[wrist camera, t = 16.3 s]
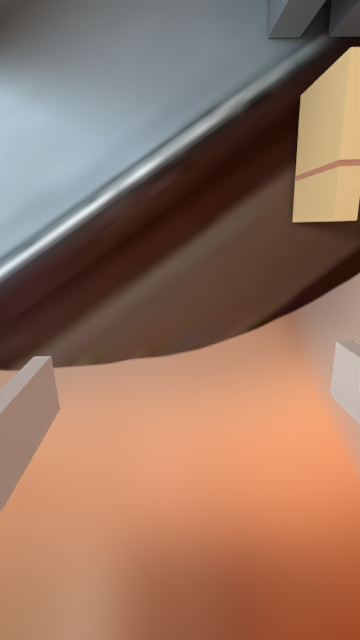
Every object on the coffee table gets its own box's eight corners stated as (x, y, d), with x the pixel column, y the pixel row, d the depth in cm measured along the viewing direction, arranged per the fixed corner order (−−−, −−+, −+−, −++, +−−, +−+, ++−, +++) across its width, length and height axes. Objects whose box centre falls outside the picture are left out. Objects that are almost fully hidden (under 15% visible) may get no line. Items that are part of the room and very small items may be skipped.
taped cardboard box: (310, 221, 43) (357, 220, 33) (292, 222, 43) (332, 221, 33) (321, 94, 39) (378, 46, 28) (300, 95, 39) (350, 47, 28)
